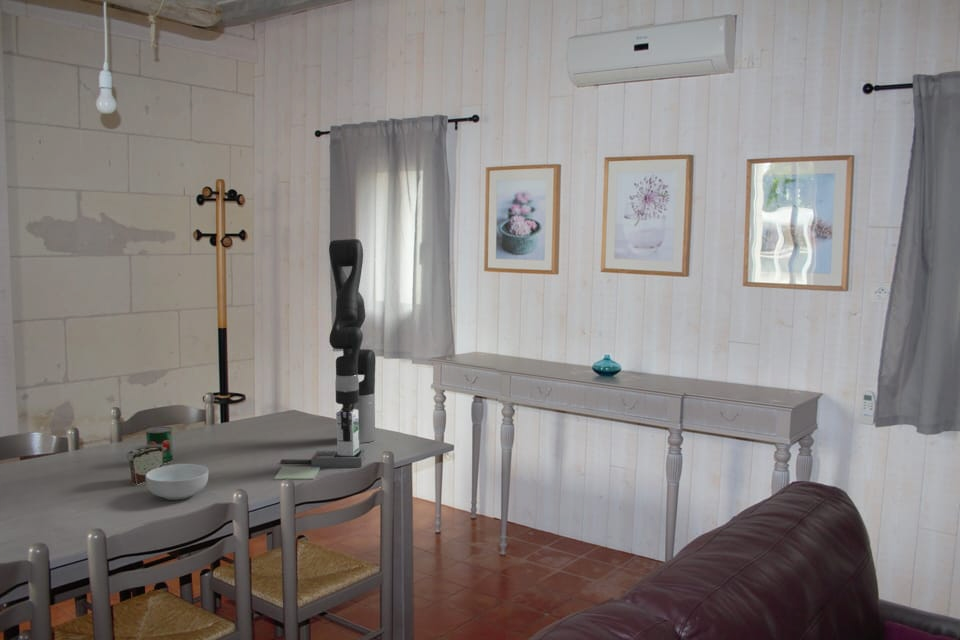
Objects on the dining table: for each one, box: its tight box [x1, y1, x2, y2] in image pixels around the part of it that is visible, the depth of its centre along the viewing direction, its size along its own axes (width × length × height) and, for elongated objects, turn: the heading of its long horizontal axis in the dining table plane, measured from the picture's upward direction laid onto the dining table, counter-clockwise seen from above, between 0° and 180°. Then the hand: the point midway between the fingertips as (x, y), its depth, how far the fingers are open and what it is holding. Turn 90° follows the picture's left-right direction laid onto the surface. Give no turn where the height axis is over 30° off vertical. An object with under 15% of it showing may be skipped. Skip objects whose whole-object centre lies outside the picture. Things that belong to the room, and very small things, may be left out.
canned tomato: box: [145, 426, 174, 465], centre depth 270 cm, size 8×8×11 cm
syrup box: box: [335, 409, 361, 456], centre depth 268 cm, size 6×6×14 cm
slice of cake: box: [125, 444, 165, 486], centre depth 250 cm, size 12×6×10 cm, turn 152°
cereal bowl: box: [145, 463, 209, 501], centre depth 235 cm, size 17×17×7 cm
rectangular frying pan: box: [279, 449, 366, 468], centre depth 269 cm, size 10×27×3 cm, turn 91°
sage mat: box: [273, 466, 321, 481], centre depth 257 cm, size 12×12×1 cm
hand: (348, 438), depth 269 cm, fingers closed on syrup box, 6 cm apart
